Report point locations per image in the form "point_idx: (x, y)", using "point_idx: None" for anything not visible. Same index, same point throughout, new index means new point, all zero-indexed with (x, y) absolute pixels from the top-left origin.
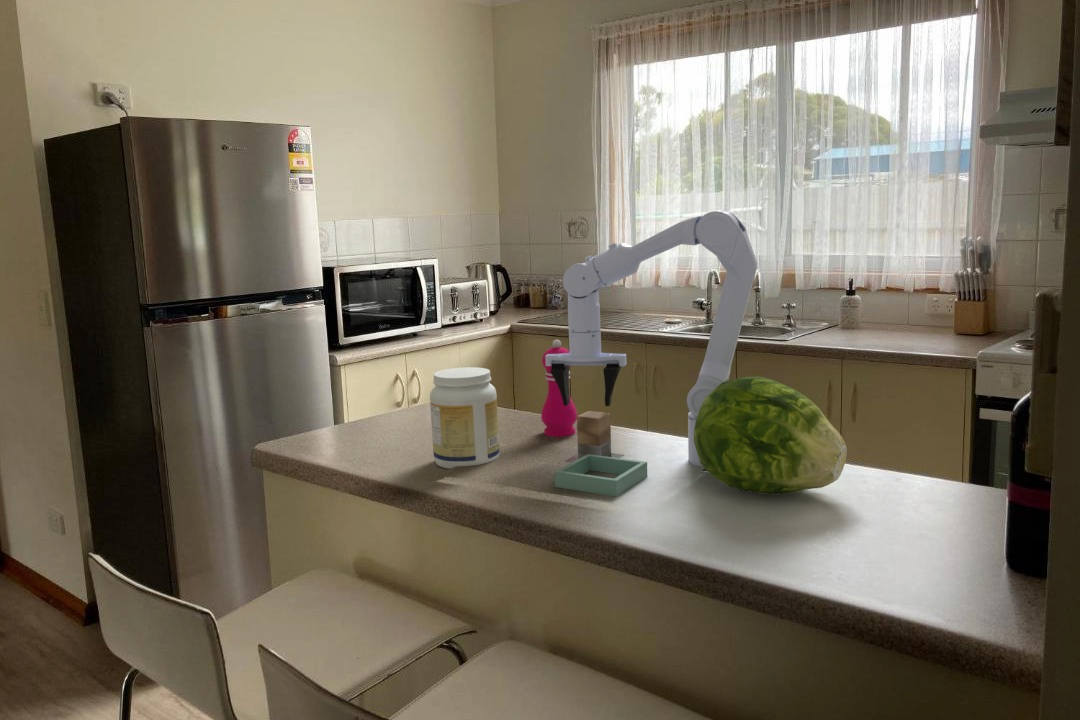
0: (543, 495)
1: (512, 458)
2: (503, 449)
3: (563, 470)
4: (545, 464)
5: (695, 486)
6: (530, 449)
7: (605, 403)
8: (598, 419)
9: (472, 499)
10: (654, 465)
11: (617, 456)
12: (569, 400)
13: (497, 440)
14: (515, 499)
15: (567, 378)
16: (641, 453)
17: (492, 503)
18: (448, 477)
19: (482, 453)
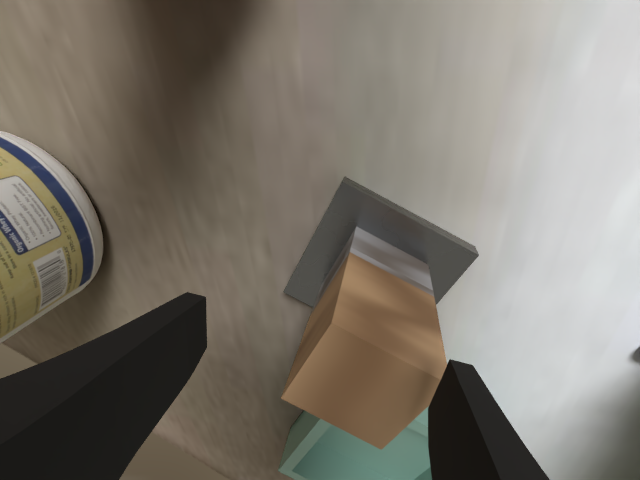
0: (271, 433)
1: (130, 193)
2: (62, 86)
3: (295, 464)
4: (234, 258)
5: (612, 459)
6: (145, 89)
7: (430, 429)
8: (380, 445)
9: (160, 424)
10: (563, 306)
11: (449, 270)
12: (196, 309)
13: (55, 260)
14: (228, 438)
15: (55, 457)
16: (563, 167)
17: (197, 444)
18: (62, 318)
19: (66, 299)
